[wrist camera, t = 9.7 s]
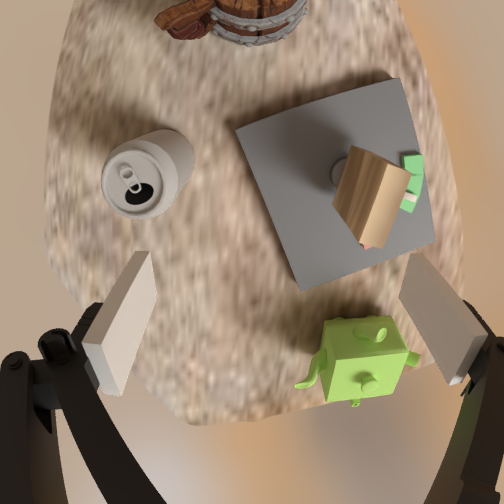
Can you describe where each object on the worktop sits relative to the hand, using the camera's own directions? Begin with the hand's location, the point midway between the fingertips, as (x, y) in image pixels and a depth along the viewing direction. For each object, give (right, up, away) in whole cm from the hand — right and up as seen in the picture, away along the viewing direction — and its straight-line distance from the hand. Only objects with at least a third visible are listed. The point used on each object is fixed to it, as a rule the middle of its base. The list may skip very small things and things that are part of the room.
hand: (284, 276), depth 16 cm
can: (-12, +12, +21) cm, 27 cm away
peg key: (+13, +9, +20) cm, 25 cm away
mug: (-3, +28, +13) cm, 31 cm away
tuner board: (+10, +9, +22) cm, 26 cm away
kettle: (+14, -11, +33) cm, 37 cm away
